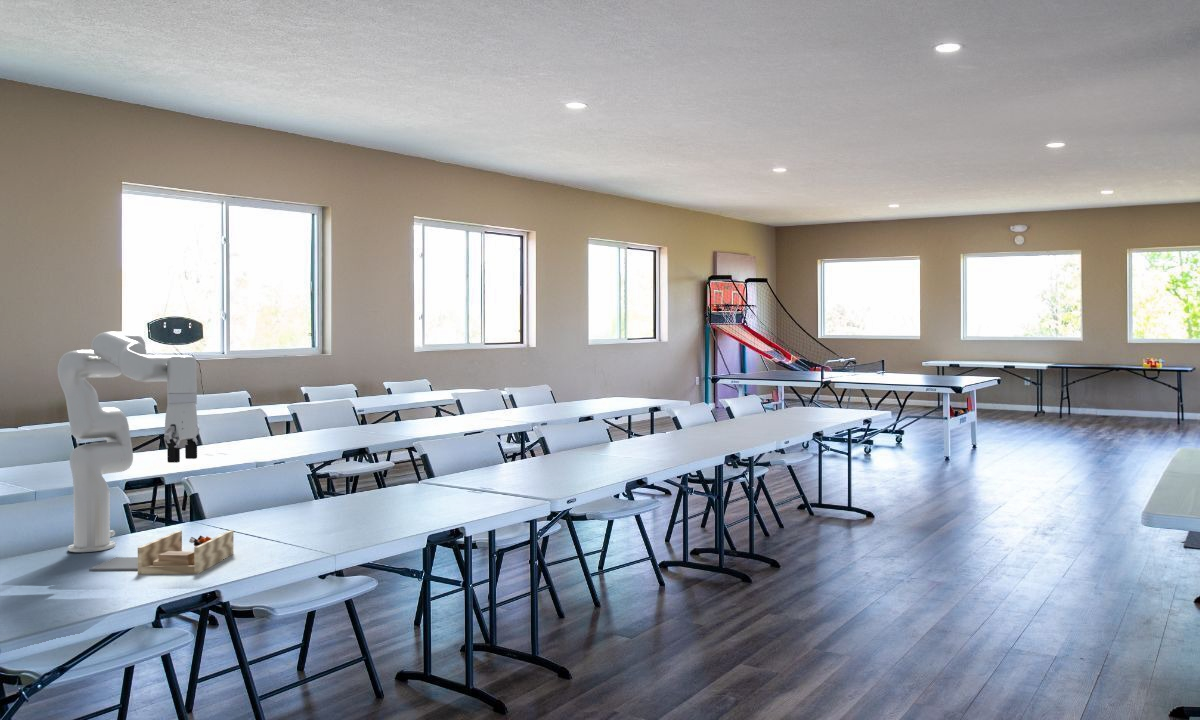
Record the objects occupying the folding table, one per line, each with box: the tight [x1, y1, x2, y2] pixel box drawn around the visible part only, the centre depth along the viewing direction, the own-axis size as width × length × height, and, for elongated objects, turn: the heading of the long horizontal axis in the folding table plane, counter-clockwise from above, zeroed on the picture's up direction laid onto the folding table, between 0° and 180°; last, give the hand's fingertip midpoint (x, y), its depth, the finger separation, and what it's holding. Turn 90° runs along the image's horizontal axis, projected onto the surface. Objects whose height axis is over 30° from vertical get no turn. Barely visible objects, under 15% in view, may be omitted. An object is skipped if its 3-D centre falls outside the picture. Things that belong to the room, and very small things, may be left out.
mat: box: [88, 556, 138, 572], centre depth 251 cm, size 14×14×1 cm
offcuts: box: [153, 550, 194, 566], centre depth 245 cm, size 6×10×4 cm, turn 91°
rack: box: [137, 530, 234, 575], centre depth 252 cm, size 24×16×7 cm, turn 1°
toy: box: [188, 535, 212, 547], centre depth 264 cm, size 8×6×15 cm
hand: (182, 460), depth 254 cm, fingers open, 9 cm apart
